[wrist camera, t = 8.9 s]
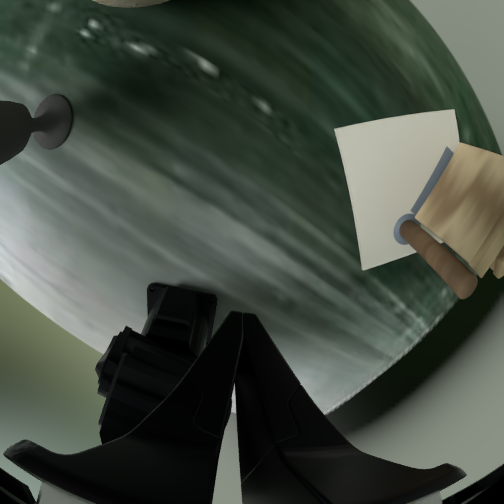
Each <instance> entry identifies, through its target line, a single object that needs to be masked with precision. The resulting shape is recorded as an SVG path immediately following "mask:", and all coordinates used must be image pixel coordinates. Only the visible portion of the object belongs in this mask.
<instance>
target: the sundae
mask: <svg viewBox="0 0 504 504" xmlns="http://www.w3.org/2000/svg"><path fill="white" fill-rule="evenodd" d="M71 122H72V114H71V108H70V105H69V103H68V101H67V100H66V99H65V98H64V97H62V96H60V95H51V96H49V97H47V98H46V99H44V100H43V101H42V102H41V103H40V105H39V107H38V108H37V110H36V112H35V115H34V118H32V117H31V115H30V113H29V111H28V109H27V108H26V106H24V105H23V104H20V103H15V102H11V101H0V165H1V164H3V163H5V162H6V161H8V160H10V159H11V158H13V157H14V156H16V155H17V154H19V153H20V152H21V151H22V150H23V149H24V148H25V146H26V145H27V143H28V140H29V138H30V135H31V133H33V134H34V137H35V139H36V141H37V142H38V143H39V145H40V146H42V147H43V148H45V149H54V148H57V147H58V146H59V145H61V144H62V143H63V142H64V140H65V139H66V137H67V135H68V133H69V131H70V127H71Z"/></svg>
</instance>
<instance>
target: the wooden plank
mask: <svg viewBox="0 0 504 504" xmlns="http://www.w3.org/2000/svg"><path fill="white" fill-rule="evenodd" d="M399 234H400V236H401V237H402V238H403V239H404V240H405V241H406V242H407V243H408V244H409V245H410V246H411V247H412V248H413V249H414V250H415V251H416V252H417V253H418V254H419V255H420V256H421V257H422V258H423V259H424V260H425V261H426V262H427V263H428V264H429V265H430V266H431V267H432V268H433V269H434V270H435V271H436V272H437V273H438V274H439V275H440V277H441V278H442V279H443V280H444V281H445V282H446V283H447V284H448V285H449V286H450V288H451V289H452V290H453V291H454V292H455V293H456V294H457V296H458V297H459V298H460V299H465V298H467V297H469V296H470V295H471V294H472V293H473V291H474V290H475V288H476V286H477V277H476V276H475V275H474V274H473V273H472V272H471V271H470V270H469V269H468V268H467V267H466V266H465V265H464V264H463V263H462V262H460V261H459V260H458V259H457V258H456V257H455V256H454V255H453V254H452V253H451V252H449V251H448V250H447V249H446V248H445V247H444V246H443V245H441V244H440V243H439V242H438V241H437V240H436V239H434V238H433V237H432V236H431V235H430V234H428V233H427V232H426V231H425V230H424V229H422V228H421V227H420V226H419V225H417V224H416V223H415V222H414V221H412V220H406V221H404V222H403V223H402V224H401V226H400V229H399ZM490 268H491V269H492V270H493V274H494V275H495V276H496V277H497V278H500V277H502V276H504V246H503V247H502V249H501V250H500V252H499V254H498V255H497V257H496V258H495V260H494V261H493V263H492V264H491V266H490Z"/></svg>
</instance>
